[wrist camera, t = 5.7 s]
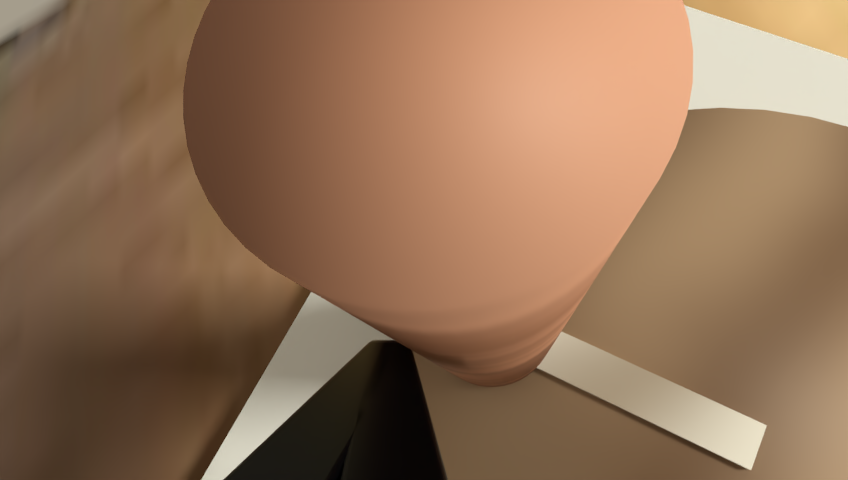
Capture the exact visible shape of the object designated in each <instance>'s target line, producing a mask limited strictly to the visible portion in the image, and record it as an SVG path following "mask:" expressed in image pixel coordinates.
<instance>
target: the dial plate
mask: <svg viewBox="0 0 848 480" xmlns="http://www.w3.org/2000/svg"><path fill="white" fill-rule="evenodd" d="M684 6H685V5H684ZM685 10H686V13H687V16H688V19H689V25H690V32H691V39H692V46H693V84H692V90H691V95H690V101H689V107H688V110H692V109H707V108H737V109H759V110H769V111H776V112H782V113H789V114H795V115H802V116H808V117H813V118H817V119H821V120H824V121H828V122H832V123H836V124H840V125H843V126H847V127H848V59H846V58H843V57H840V56H837V55H834V54H831V53H828V52H825V51H822V50H819V49H816V48H813V47H810V46H807V45H804V44H801V43H798V42H794V41H791V40H788V39H785V38H782V37H779V36H776V35H773V34H770V33H767V32H764V31H761V30H758V29H755V28H752V27H749V26H746V25H743V24H739V23H736V22H733V21H730V20H727V19H724V18H721V17H718V16H715V15H712V14H709V13H706V12H703V11H700V10H697V9H694V8H691V7H688V6H685ZM372 340H393V339H392V338H390V337H388V336H387V335H385V334H383V333H381V332H380V331H378V330H376V329H374V328H373V327H371V326H369V325H368V324H366V323H364V322H362V321H361V320H359V319H357V318H356V317H354V316H352V315H350V314H349V313H347V312H345V311H344V310H342V309H340V308H338V307H337V306H335V305H333V304H332V303H330V302H328V301H326V300H325V299H323V298H321V297H320V296H318V295H316V294H314V293H313V292H311V293H310V295H309V296H308V298H307V300H306V301H305V303H304V305H303V307H302V308H301V310H300V312H299V313H298V315H297V317H296V319H295V320H294V322H293V324H292V325H291V327H290V329H289V331H288V332H287V334H286V336H285V337H284V339H283V341H282V342H281V344H280V346H279V348H278V349H277V351H276V353H275V354H274V356H273V358H272V360H271V361H270V363H269V365H268V366H267V368H266V370H265V372H264V373H263V375H262V377H261V378H260V380H259V382H258V384H257V385H256V387H255V389H254V390H253V392H252V394H251V395H250V397H249V399H248V401H247V402H246V404H245V406H244V407H243V409H242V411H241V413H240V414H239V416H238V418H237V419H236V421H235V423H234V425H233V426H232V428H231V430H230V431H229V433H228V435H227V437H226V438H225V440H224V442H223V443H222V445H221V447H220V448H219V450H218V452H217V454H216V455H215V457H214V459H213V460H212V462H211V464H210V466H209V467H208V469H207V471H206V472H205V474H204V476H203V478H202V479H201V480H223V479H224V478H225V477H227V476H228V475H229V474H230V473H231V472H232V471H233V470H234V469H235V468H236V467H237V466H238V465H239V464H240V463H241V462H242V461H243V460H245V459H246V458H247V457H248V456H249V455H250V454H251V453H252V452H253V451H254V450H255V449H256V448H257V447H258V446H259V445H260V444H262V443H263V442H264V441H265V440H266V439H267V438H268V437H269V436H270V435H271V434H272V433H273V432H274V431H275V430H276V429H277V428H278V427H280V426H281V425H282V424H283V423H284V422H285V421H286V420H287V419H288V418H289V417H290V416H291V415H292V414H293V413H294V412H295V411H296V410H298V409H299V408H300V407H301V406H302V405H303V404H304V403H305V402H306V401H307V400H308V399H309V398H310V397H311V396H312V395H313V394H315V393H316V392H317V391H318V390H319V389H320V388H321V387H322V386H323V385H324V384H325V383H326V382H327V381H328V380H329V379H330V378H331V377H333V376H334V375H335V374H336V373H337V372H338V371H339V370H340V369H341V368H342V367H343V366H344V365H345V364H346V363H347V362H348V361H350V360H351V359H352V358H353V357H354V356H355V355H356V354H357V353H358V352H359V351H360V350H361V349H362V348H363V347H364V346H365V345H366V344H368V343H369V342H370V341H372Z"/></svg>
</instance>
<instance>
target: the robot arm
mask: <svg viewBox="0 0 848 480" xmlns="http://www.w3.org/2000/svg"><path fill="white" fill-rule="evenodd" d="M223 480H448V477H447V474H446V470H445V467H444V463H443V459H442V456H441V452H440V448H439V445H438V441H437V438H436V434H435V430H434V427H433V423H432V419H431V416H430V412H429V409H428V405H427V401H426V398H425V394H424V390H423V387H422V383H421V380H420V376H419V372H418V369H417V365H416V361H415V358H414V354H413V351H412V350H411V349H409V348H407V347H405V346H404V345H402V344H400V343H399V342H397V341H395V340H372V341H370V342H369V343H368V344H366V345H365V346H364V347H363V348H362V349H361V350H360V351H359V352H358V353H357V354H356V355H355V356H354V357H353V358H352V359H351V360H350V361H348V362H347V363H346V364H345V365H344V366H343V367H342V368H341V369H340V370H339V371H338V372H337V373H336V374H335V375H334V376H333V377H331V378H330V379H329V380H328V381H327V382H326V383H325V384H324V385H323V386H322V387H321V388H320V389H319V390H318V391H317V392H316V393H315V394H313V395H312V396H311V397H310V398H309V399H308V400H307V401H306V402H305V403H304V404H303V405H302V406H301V407H300V408H299V409H298V410H296V411H295V412H294V413H293V414H292V415H291V416H290V417H289V418H288V419H287V420H286V421H285V422H284V423H283V424H282V425H281V426H280V427H278V428H277V429H276V430H275V431H274V432H273V433H272V434H271V435H270V436H269V437H268V438H267V439H266V440H265V441H264V442H263V443H262V444H260V445H259V446H258V447H257V448H256V449H255V450H254V451H253V452H252V453H251V454H250V455H249V456H248V457H247V458H246V459H245V460H243V461H242V462H241V463H240V464H239V465H238V466H237V467H236V468H235V469H234V470H233V471H232V472H231V473H230V474H229V475H228V476H227V477H225V478H224V479H223Z"/></svg>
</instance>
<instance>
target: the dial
mask: <svg viewBox="0 0 848 480" xmlns="http://www.w3.org/2000/svg"><path fill="white" fill-rule="evenodd" d="M692 84H693V46H692V39H691V32H690V25H689V19H688V16H687V13H686V10H685V6H684V3H683V0H211V1H210V3H209V5H208V6H207V8H206V10H205V12H204V15H203V17H202V20H201V22H200V24H199V27H198V29H197V32H196V34H195V37H194V40H193V44H192V48H191V51H190V55H189V58H188V62H187V69H186V76H185V83H184V96H183V118H184V125H185V132H186V139H187V146H188V150H189V153H190V156H191V160H192V163H193V166H194V170H195V173H196V175H197V178H198V180H199V182H200V184H201V186H202V188H203V190H204V192H205V195H206V197H207V199H208V201H209V202H210V204H211V205H212V207H213V208H214V210H215V211H216V213H217V214H218V216H219V217H220V219H221V220H222V222H223V223H224V225H225V226H226V227H227V228H228V229H229V230H230V231H231V232H232V233H233V234H234V236H235V237H236V238H237V239H238V240H239V241H240V242H241V243H242V244H243V245H244V246H245V248H247V249H248V250H249V251H250V252H252V253H253V254H254V255H255V256H257V257H258V258H259V259H260V260H262V261H263V262H264V263H265V264H267V265H268V266H269V267H270V268H272V269H274V270H275V271H277V272H279V273H280V274H282V275H284V276H285V277H287V278H289V279H291V280H292V281H294V282H296V283H297V284H299V285H301V286H302V287H304V288H306V289H308V290H309V291H311V292H313V293H314V294H316V295H318V296H320V297H321V298H323V299H325V300H326V301H328V302H330V303H332V304H333V305H335V306H337V307H338V308H340V309H342V310H344V311H345V312H347V313H349V314H350V315H352V316H354V317H356V318H357V319H359V320H361V321H362V322H364V323H366V324H368V325H369V326H371V327H373V328H374V329H376V330H378V331H380V332H381V333H383V334H385V335H387V336H388V337H390V338H392V339H393V340H395V341H397V342H399V343H400V344H402V345H404V346H405V347H407V348H409V349H411V350H412V351H413V354H414V358H415V361H416V365H417V369H418V372H419V376H420V380H421V383H422V387H423V390H424V394H425V398H426V401H427V405H428V409H429V412H430V416H431V419H432V423H433V427H434V430H435V434H436V438H437V441H438V445H439V448H440V452H441V456H442V459H443V463H444V467H445V470H446V474H447V477H448V480H848V127H847V126H843V125H840V124H836V123H832V122H828V121H824V120H821V119H817V118H813V117H808V116H802V115H795V114H789V113H782V112H776V111H769V110H759V109H737V108H707V109H692V110H688V107H689V101H690V95H691V90H692Z"/></svg>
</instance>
